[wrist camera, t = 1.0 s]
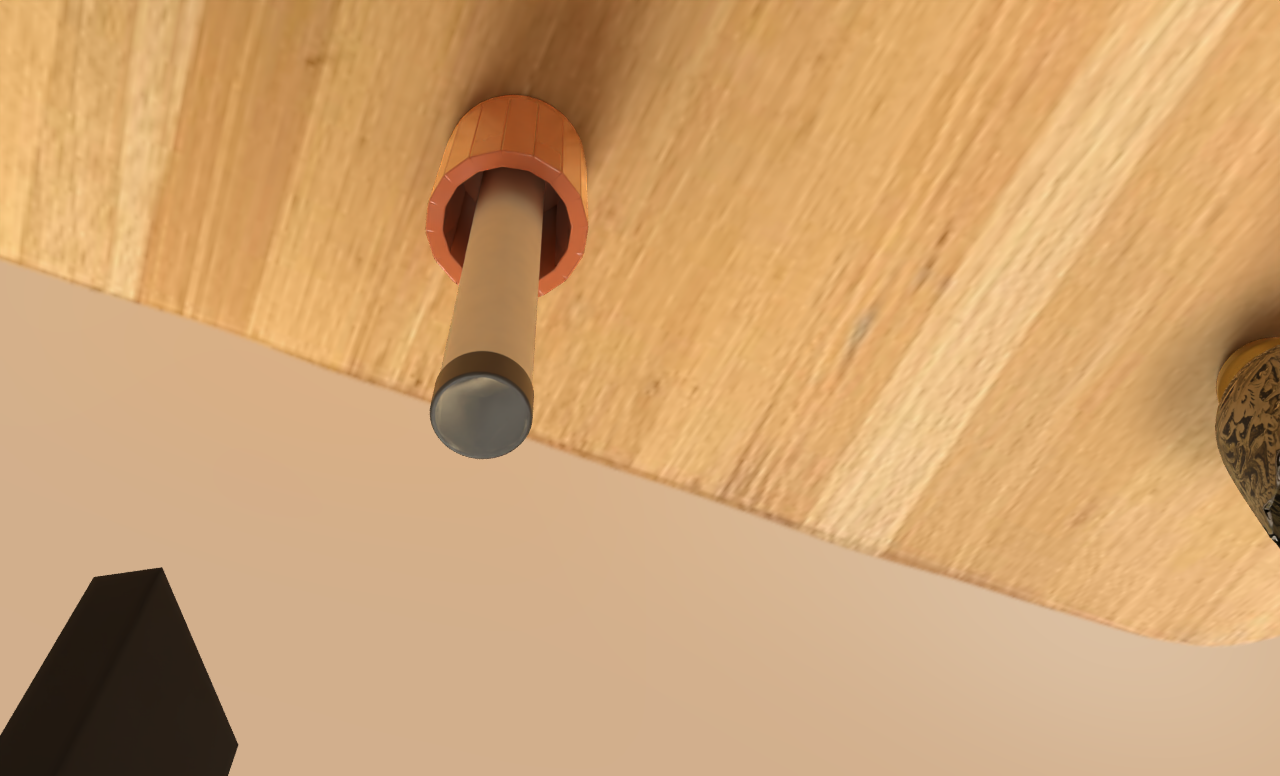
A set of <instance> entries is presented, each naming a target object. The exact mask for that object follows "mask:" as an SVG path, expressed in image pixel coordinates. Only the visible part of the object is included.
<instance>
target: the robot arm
mask: <svg viewBox="0 0 1280 776" xmlns="http://www.w3.org/2000/svg"><path fill="white" fill-rule="evenodd" d="M237 747H238V743H237V741H236V738H235V736H234V734H233V731H232V729H231V727H230V725H229V722H228V720H227V717H226V715H225V713H224V711H223V708H222V706H221V703H220V701H219V699H218V696H217V694H216V692H215V690H214V687H213V685H212V682H211V680H210V678H209V675H208V673H207V671H206V668H205V666H204V664H203V661H202V659H201V657H200V654H199V653H198V650H197V648H196V645H195V643H194V641H193V638H192V636H191V634H190V631H189V629H188V627H187V624H186V622H185V620H184V617H183V615H182V613H181V610H180V608H179V606H178V603H177V601H176V599H175V596H174V594H173V592H172V589H171V587H170V585H169V583H168V580H167V578H166V575H165V573H164V571H163V568H162V567H161V568H154V569H147V570H140V571H134V572H126V573H120V574H112V575H105V576H98V577H94V578H93V579H92V581H91V583H90V584H89V586H88V588H87V590H86V591H85V593H84V595H83V596H82V598H81V600H80V602H79V603H78V605H77V607H76V608H75V610H74V612H73V613H72V615H71V617H70V618H69V620H68V622H67V624H66V625H65V627H64V629H63V630H62V632H61V634H60V635H59V637H58V639H57V640H56V642H55V644H54V646H53V647H52V649H51V651H50V652H49V654H48V656H47V657H46V659H45V661H44V662H43V664H42V666H41V667H40V669H39V671H38V673H37V674H36V676H35V678H34V679H33V681H32V683H31V684H30V686H29V688H28V689H27V691H26V693H25V695H24V696H23V698H22V700H21V701H20V703H19V705H18V706H17V708H16V710H15V711H14V713H13V715H12V717H11V718H10V720H9V722H8V723H7V725H6V727H5V729H4V730H3V732H2V734H1V735H0V776H228V774H229V771H230V768H231V765H232V762H233V759H234V756H235V753H236V750H237Z"/></svg>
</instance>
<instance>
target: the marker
mask: <svg viewBox="0 0 1280 776" xmlns="http://www.w3.org/2000/svg"><path fill="white" fill-rule="evenodd" d="M544 192H545V181H544V180H543V179H541V178H539V177H538V176H536V175H534V174H533V173H531V172H529V171H526V170H519V169H513V168H507V167H499V168H495V169H490V170H486V171H483V176H482V180H481V185H480V190H479V194H478V199H477V204H476V208H475V213H474V218H473V222H472V227H471V231H470V236H469V241H468V245H467V250H466V255H465V259H464V264H463V269H462V273H461V278H460V283H459V287H458V292H457V297H456V301H455V306H454V311H453V315H452V320H451V325H450V329H449V334H448V339H447V343H446V348H445V353H444V357H443V362H442V367H441V371H440V374H439V375H438V377H437V380H436V383H435V388H434V392H433V397H432V401H431V406H430V420H431V424H432V427H433V429H434V431H435V433H436V435H437V436H438V438H439V439H440V440H441V441H442V442H443V443H444V444H445V445H446V446H447V447H448V448H450V449H451V450H453V451H454V452H456V453H458V454H460V455H463V456H466V457H470V458H475V459H490V458H496V457H499V456H503V455H505V454H507V453H509V452H511V451H512V450H514V449H515V448H517V447H518V446H519V445H520V444H521V443H522V442H523V441H524V440H525V438H526V437H527V435H528V433H529V431H530V429H531V425H532V418H533V402H534V391H533V386H532V380H533V364H534V349H535V333H536V317H537V301H538V286H539V270H540V254H541V239H542V223H543V207H544Z"/></svg>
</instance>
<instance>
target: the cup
mask: <svg viewBox="0 0 1280 776" xmlns="http://www.w3.org/2000/svg"><path fill="white" fill-rule="evenodd" d="M1216 392H1217V398H1218V402H1219V406H1218V411H1217V416H1216V424H1215V430H1216V440H1217V445H1218V449H1219V452H1220V454H1221V457H1222V460H1223V463H1224V465H1225V467H1226V469H1227V471H1228V472H1229V474H1230V476H1231V478H1232V480H1233V481H1234V483H1235V485H1236V486H1237V488H1238V490H1239V491H1240V493H1241V494H1242V496H1243V497H1244V499H1245V500H1246V502H1247V504H1248V505H1249V507H1250V508H1251V510H1252V511H1253V513H1254V514H1255V516H1256V517H1257V519H1258V520H1259V522H1260V523H1261V524H1262V526H1263V527H1264V529H1265V530H1266V532H1267V533H1268V535H1269V537H1270V538H1272V540H1273V541H1274V542H1275V543H1276V544H1277V545H1278V547H1279V548H1280V337H1268V338H1262V339H1258V340H1255V341H1252V342H1250V343H1248V344H1246V345H1244V346H1242V347H1241V348H1239V349H1238V350H1237V351H1235V352H1234V353H1233V354H1232V355H1231V356H1230V357H1229V358H1228V359H1227V360H1226V362H1225V363H1224V364H1223V366H1222V368H1221V370H1220V372H1219V374H1218V378H1217V383H1216Z"/></svg>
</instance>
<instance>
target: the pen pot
mask: <svg viewBox="0 0 1280 776" xmlns="http://www.w3.org/2000/svg"><path fill="white" fill-rule="evenodd" d="M499 167H507V168H513V169H519V170H526V171H529V172H531V173H533V174H534V175H536V176H538V177H539V178H541V179H543V180H544V181H545V192H544V207H543V223H542V239H541V254H540V270H539V286H538V297H540V296H542V295H545V294H547V293H548V292H550V291H551V290H553V289H554V288H556V287H557V286H559V285H560V284H562V283H563V282H565V281H566V280H567V279H568V278H569V276H570V275H571V273H572V272H573V270H574V269H575V267H576V266H577V264H578V263H579V261H580V260H581V258H582V257H583V254H584V251H585V245H586V239H587V233H588V202H587V173H586V162H585V156H584V150H583V146H582V143H581V140H580V138H579V136H578V134H577V132H576V130H575V129H574V127H573V125H572V124H571V123H570V122H569V120H568V119H567V118H566V117H565V116H564V115H563V114H562V113H561V112H560V111H558V110H557V109H555V108H554V107H553V106H551V105H549V104H547V103H546V102H544V101H541V100H538V99H536V98H532V97H528V96H522V95H504V96H498V97H494V98H491V99H488V100H486V101H484V102H481V103H480V104H478V105H476V106H475V107H473V108H472V109H471V110H470V111H468V112H467V113H466V114H465V115H464V116H463V117H462V118H461V120H460V121H459V122H458V124H457V125H456V127H455V128H454V131H453V133H452V135H451V137H450V139H449V141H448V143H447V146H446V149H445V152H444V155H443V158H442V161H441V164H440V167H439V170H438V174H437V177H436V180H435V183H434V186H433V189H432V192H431V195H430V198H429V201H428V208H427V218H426V228H425V229H426V235H427V238H428V241H429V244H430V247H431V250H432V253H433V256H434V259H436V262H437V263H438V264H439V265H440V267H441V268H442V269H443V270H444V271H445V272H446V274H447V275H448V276H449V277H450V278H451V279H452V281H453V282H456V284H457V285H459V283H460V278H461V273H462V269H463V264H464V259H465V255H466V250H467V245H468V241H469V236H470V231H471V227H472V222H473V218H474V213H475V208H476V204H477V199H478V194H479V190H480V185H481V180H482V176H483V171H486V170H490V169H495V168H499Z"/></svg>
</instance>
